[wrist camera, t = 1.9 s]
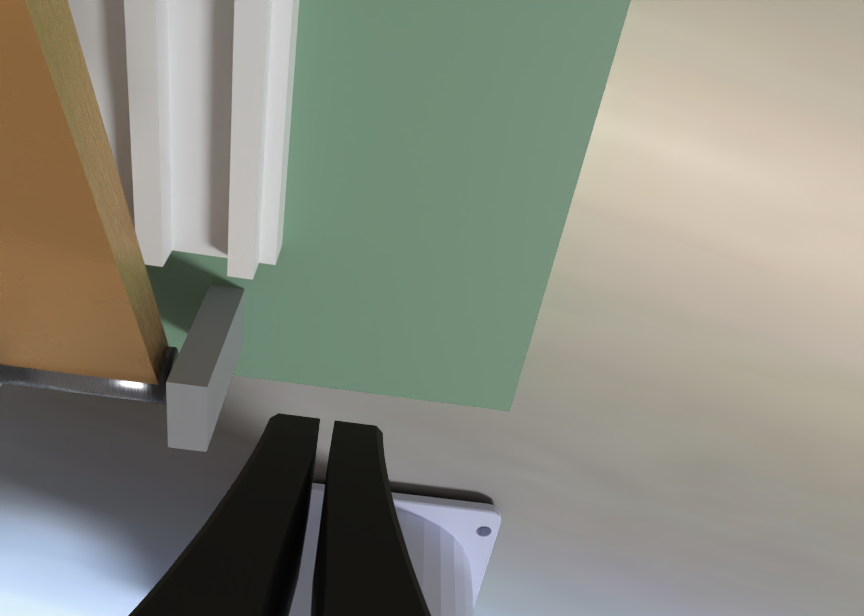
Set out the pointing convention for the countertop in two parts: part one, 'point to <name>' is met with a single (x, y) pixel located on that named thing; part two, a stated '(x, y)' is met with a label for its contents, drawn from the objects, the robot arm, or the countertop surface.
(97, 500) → the countertop surface
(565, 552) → the countertop surface
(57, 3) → the orange brown flat bar
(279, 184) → the board
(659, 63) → the countertop surface
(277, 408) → the countertop surface
